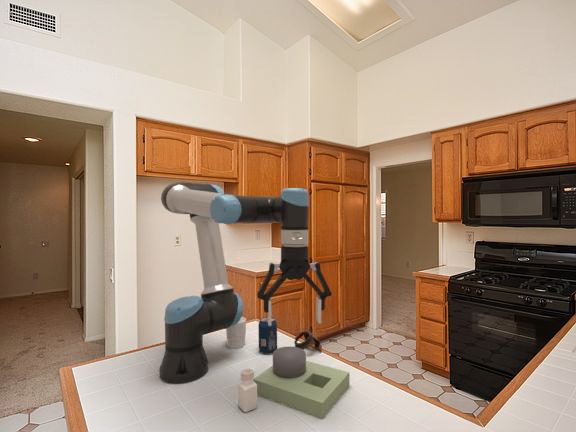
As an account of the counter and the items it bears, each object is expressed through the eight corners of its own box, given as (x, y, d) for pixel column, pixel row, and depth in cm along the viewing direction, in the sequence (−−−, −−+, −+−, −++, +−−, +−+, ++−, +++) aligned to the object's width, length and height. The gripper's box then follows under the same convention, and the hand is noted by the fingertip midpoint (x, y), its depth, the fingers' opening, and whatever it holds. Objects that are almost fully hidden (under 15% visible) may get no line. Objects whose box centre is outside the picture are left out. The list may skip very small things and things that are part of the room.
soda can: (264, 346, 123) (264, 315, 123) (280, 349, 120) (280, 317, 120) (255, 352, 116) (254, 320, 117) (271, 356, 113) (271, 323, 113)
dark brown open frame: (324, 357, 113) (313, 339, 112) (301, 367, 115) (290, 349, 114) (322, 336, 125) (313, 320, 123) (301, 345, 127) (292, 329, 125)
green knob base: (253, 393, 90) (252, 361, 90) (287, 367, 105) (286, 340, 105) (322, 419, 78) (322, 382, 78) (349, 385, 93) (349, 355, 93)
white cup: (250, 343, 125) (250, 318, 125) (237, 351, 118) (236, 324, 118) (235, 339, 129) (235, 315, 129) (221, 346, 123) (221, 320, 123)
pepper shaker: (237, 406, 84) (237, 370, 84) (250, 401, 86) (250, 366, 86) (244, 414, 80) (244, 376, 80) (258, 408, 83) (257, 372, 83)
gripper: (248, 247, 80) (248, 330, 80) (343, 246, 84) (342, 325, 84) (248, 244, 88) (248, 320, 88) (335, 243, 91) (334, 316, 91)
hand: (294, 322), depth 86 cm, fingers open, 13 cm apart
